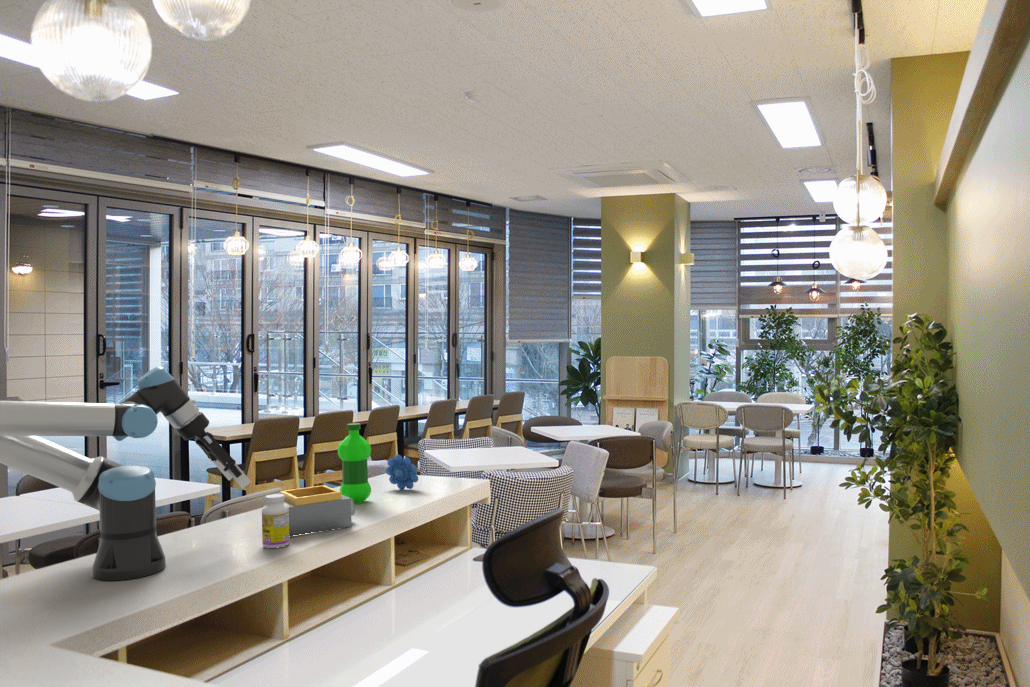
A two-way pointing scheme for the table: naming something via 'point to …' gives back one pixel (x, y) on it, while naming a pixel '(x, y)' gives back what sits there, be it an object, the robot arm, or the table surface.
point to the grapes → (402, 472)
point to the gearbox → (317, 509)
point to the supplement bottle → (275, 522)
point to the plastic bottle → (355, 465)
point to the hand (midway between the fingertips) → (239, 481)
